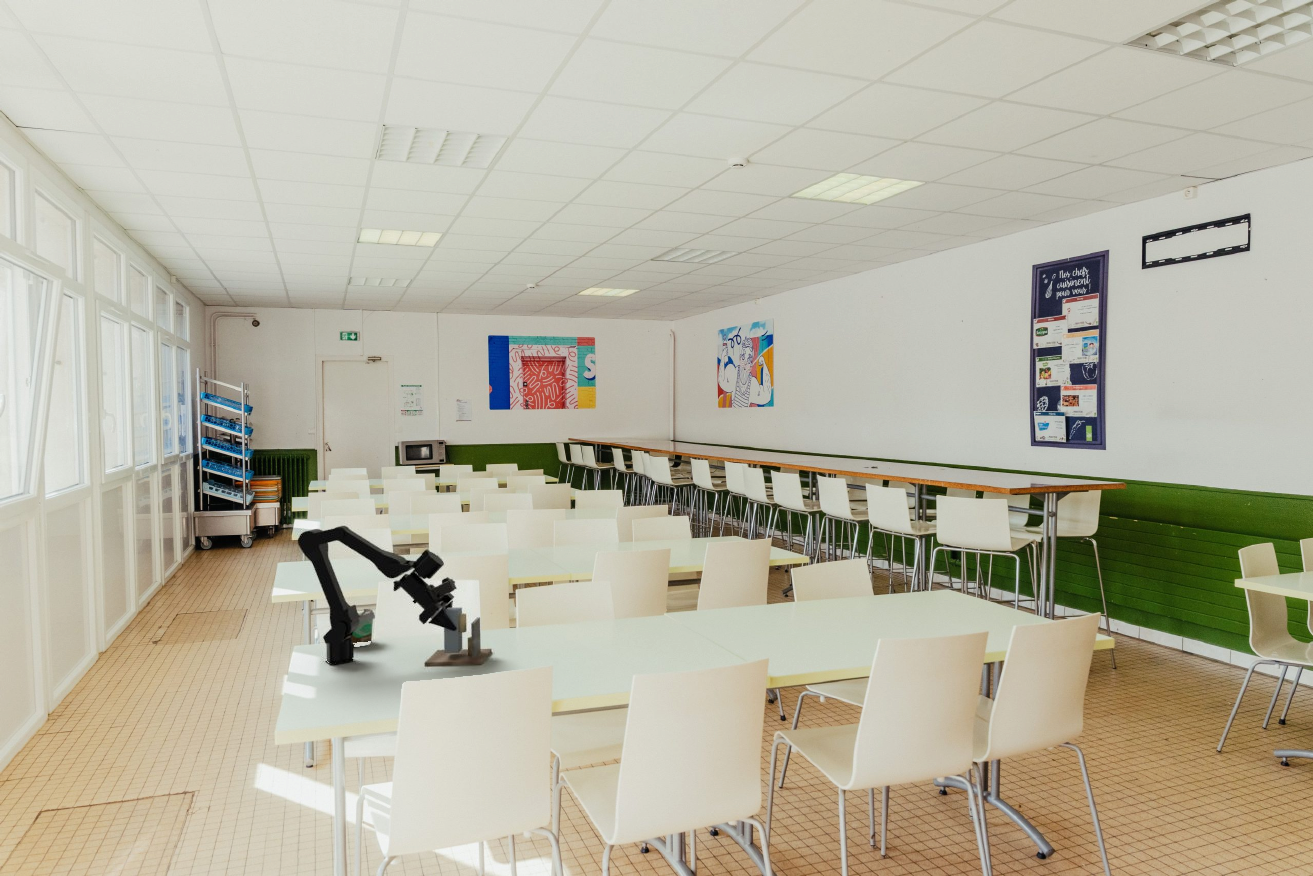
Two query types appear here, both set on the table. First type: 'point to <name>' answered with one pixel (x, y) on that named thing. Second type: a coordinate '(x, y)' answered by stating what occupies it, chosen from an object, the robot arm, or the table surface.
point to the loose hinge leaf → (454, 637)
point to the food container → (364, 627)
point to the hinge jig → (463, 652)
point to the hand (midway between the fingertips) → (457, 627)
